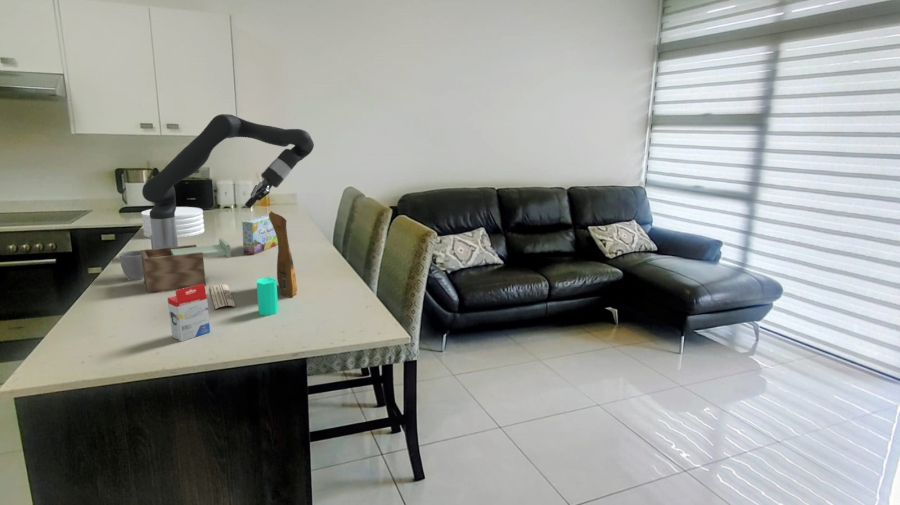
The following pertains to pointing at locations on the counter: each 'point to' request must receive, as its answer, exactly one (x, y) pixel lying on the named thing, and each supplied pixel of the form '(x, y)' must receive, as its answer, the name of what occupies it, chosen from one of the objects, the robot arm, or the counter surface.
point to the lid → (206, 250)
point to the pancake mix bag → (284, 257)
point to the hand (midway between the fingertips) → (247, 206)
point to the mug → (132, 264)
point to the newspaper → (221, 296)
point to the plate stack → (180, 221)
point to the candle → (267, 296)
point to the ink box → (189, 313)
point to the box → (171, 269)
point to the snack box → (258, 235)
